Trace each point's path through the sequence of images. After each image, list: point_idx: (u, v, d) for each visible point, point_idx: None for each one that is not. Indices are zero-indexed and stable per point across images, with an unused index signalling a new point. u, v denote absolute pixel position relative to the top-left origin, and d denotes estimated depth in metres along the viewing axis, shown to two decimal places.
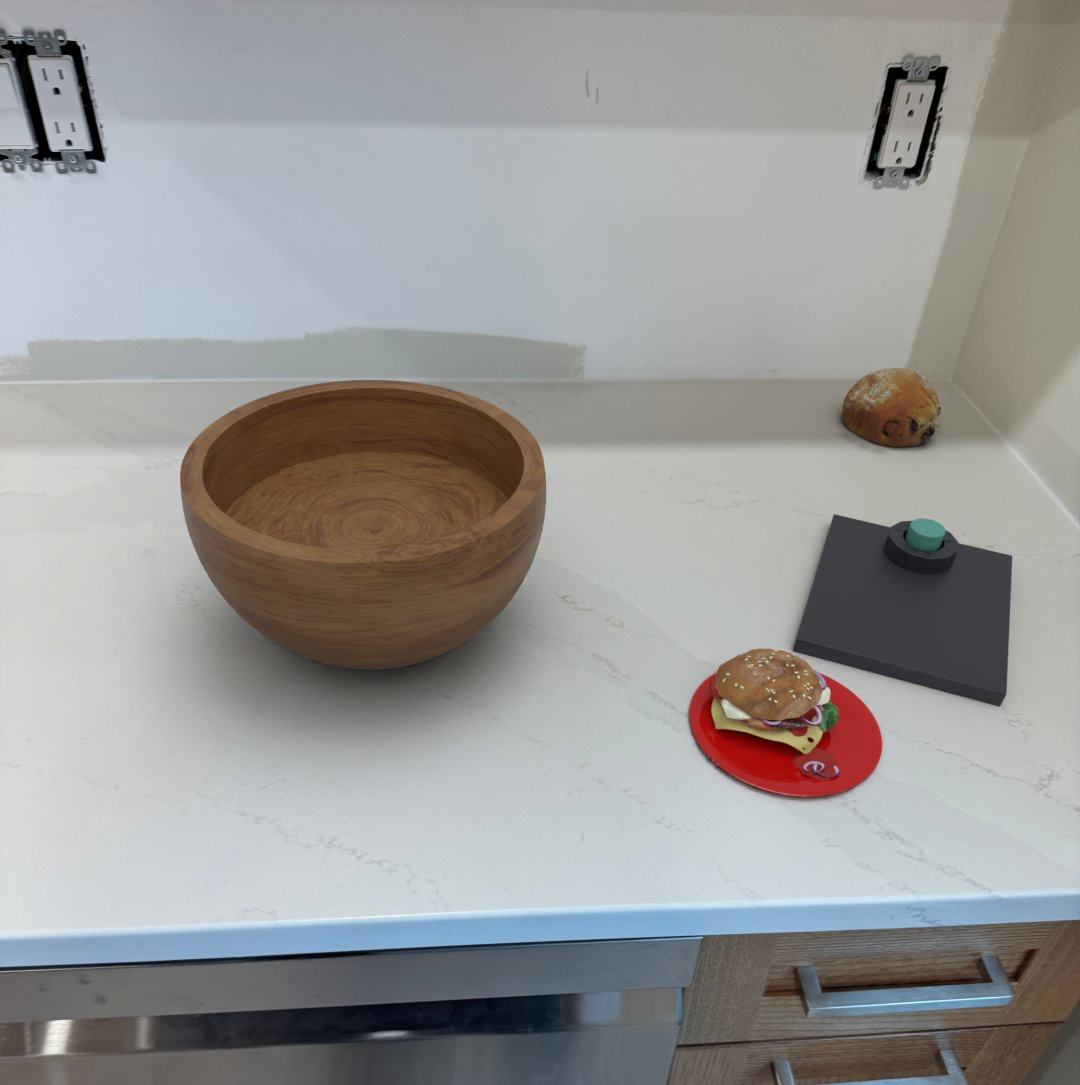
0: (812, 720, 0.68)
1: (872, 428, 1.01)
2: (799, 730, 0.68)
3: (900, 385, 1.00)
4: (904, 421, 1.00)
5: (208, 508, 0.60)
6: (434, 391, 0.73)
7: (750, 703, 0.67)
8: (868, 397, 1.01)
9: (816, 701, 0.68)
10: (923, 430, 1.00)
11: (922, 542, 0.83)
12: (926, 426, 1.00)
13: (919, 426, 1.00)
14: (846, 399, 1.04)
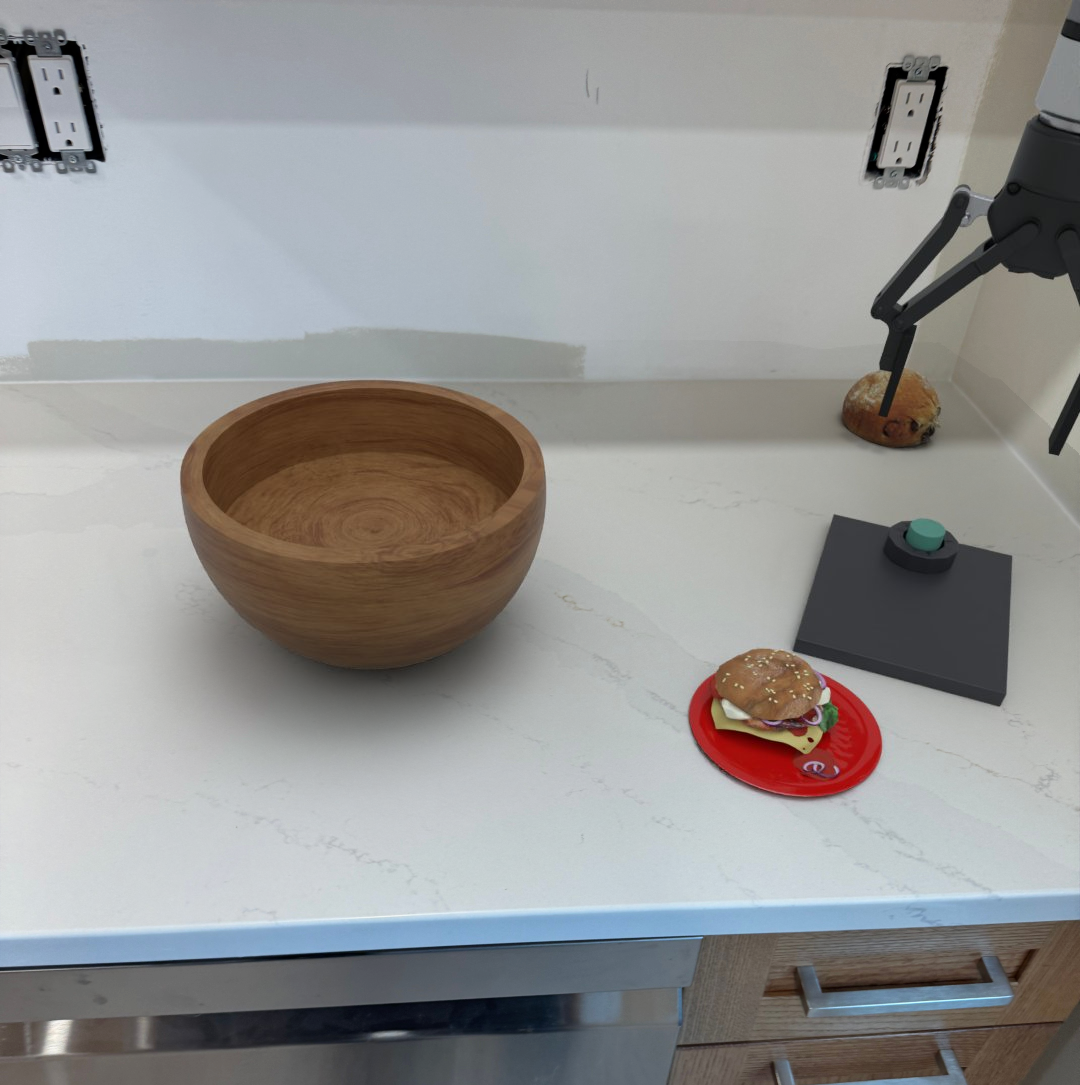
0: (812, 720, 0.68)
1: (872, 428, 1.01)
2: (799, 730, 0.68)
3: (900, 385, 1.00)
4: (904, 421, 1.00)
5: (208, 508, 0.60)
6: (434, 391, 0.73)
7: (750, 703, 0.67)
8: (868, 397, 1.01)
9: (816, 701, 0.68)
10: (923, 430, 1.00)
11: (922, 542, 0.83)
12: (926, 426, 1.00)
13: (919, 426, 1.00)
14: (846, 399, 1.04)
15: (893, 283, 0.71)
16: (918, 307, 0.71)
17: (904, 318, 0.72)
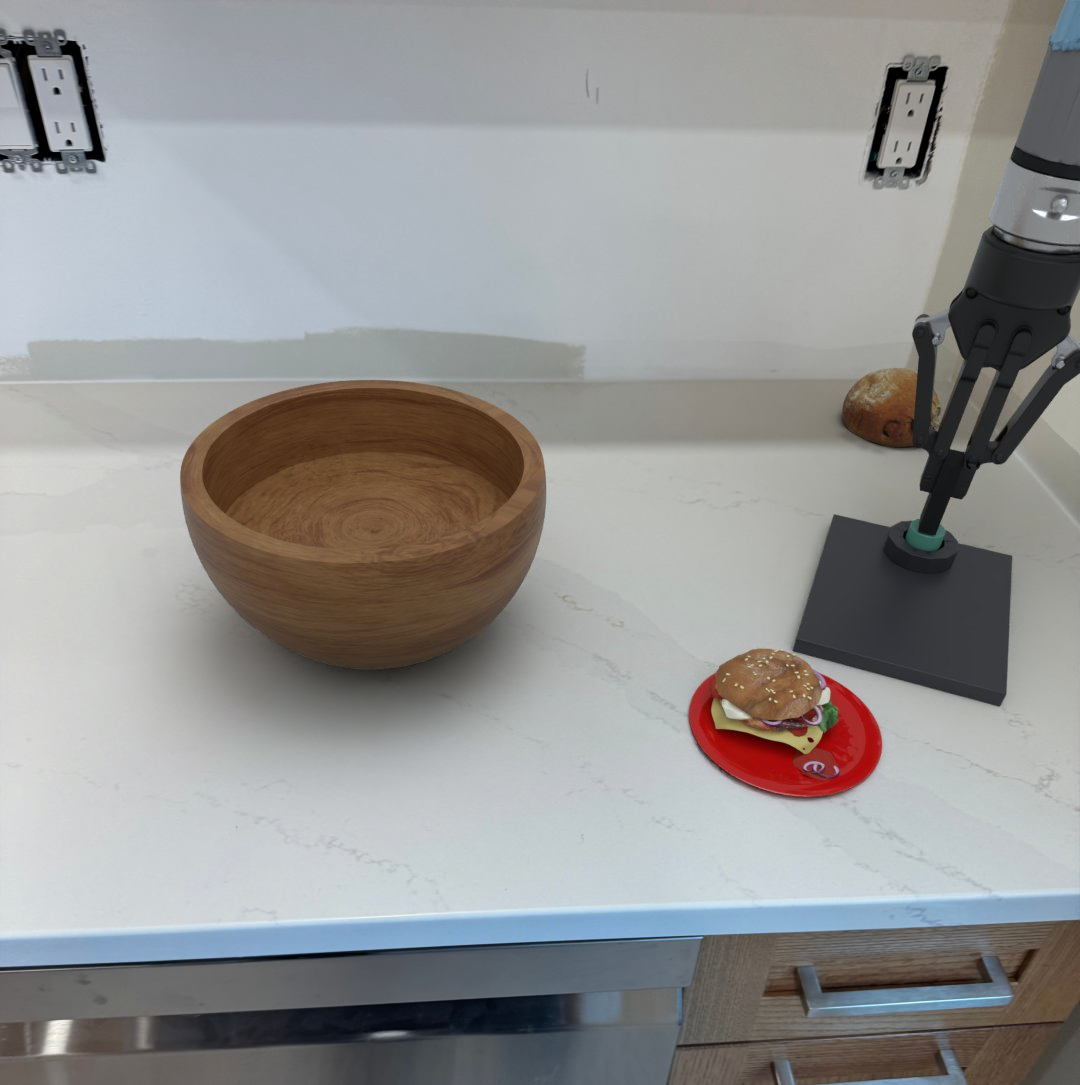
0: (812, 720, 0.68)
1: (872, 428, 1.01)
2: (799, 730, 0.68)
3: (900, 385, 1.00)
4: (904, 421, 1.00)
5: (208, 508, 0.60)
6: (434, 391, 0.73)
7: (750, 703, 0.67)
8: (868, 397, 1.01)
9: (816, 701, 0.68)
10: None
11: (922, 542, 0.83)
12: None
13: None
14: (846, 399, 1.04)
15: (915, 415, 0.76)
16: (944, 432, 0.76)
17: (939, 446, 0.77)
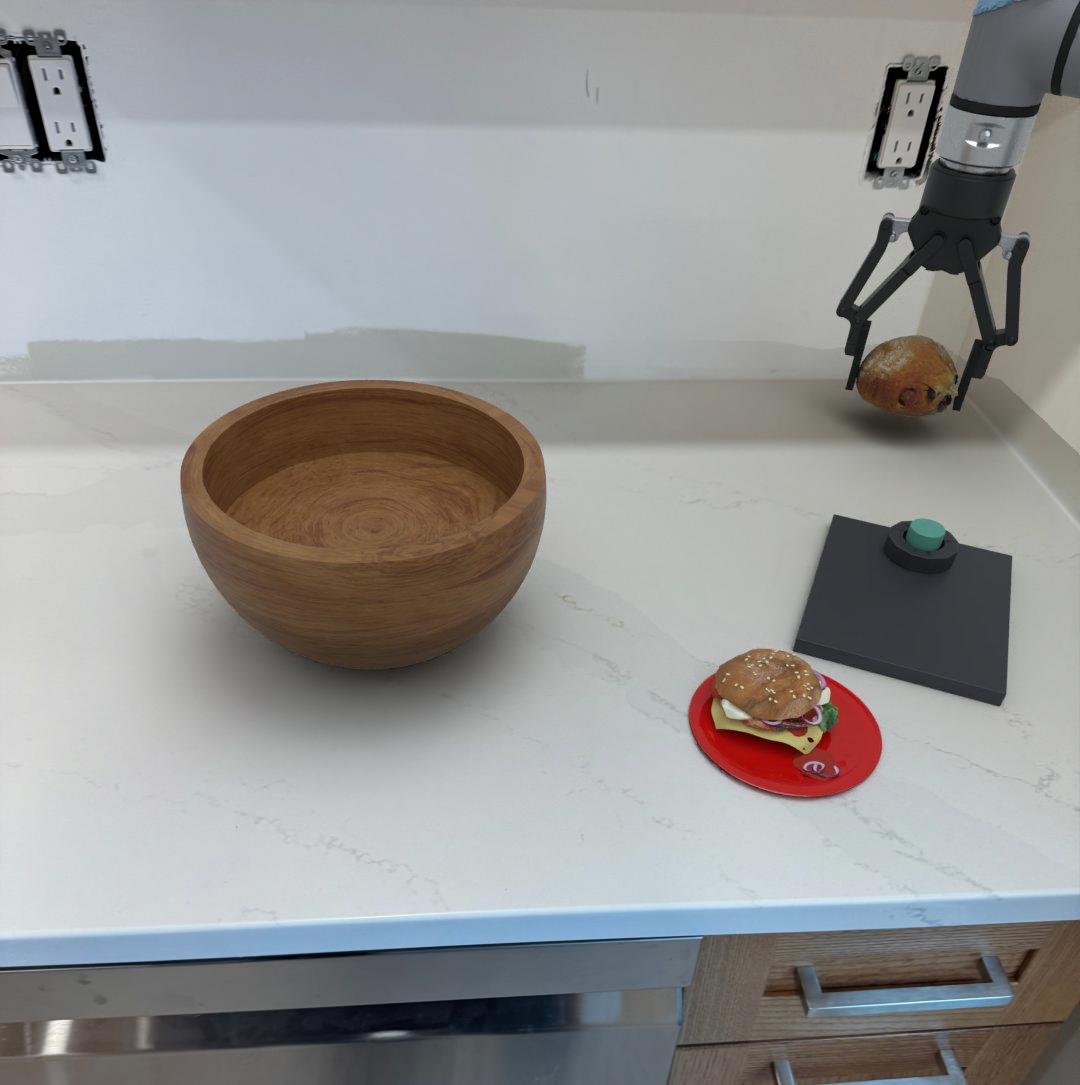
0: (812, 720, 0.68)
1: (887, 397, 0.99)
2: (799, 730, 0.68)
3: (916, 352, 0.97)
4: (920, 389, 0.97)
5: (208, 508, 0.60)
6: (434, 391, 0.73)
7: (750, 703, 0.67)
8: (883, 366, 0.98)
9: (816, 701, 0.68)
10: (940, 398, 0.98)
11: (922, 542, 0.83)
12: (943, 394, 0.97)
13: (936, 393, 0.97)
14: (860, 368, 1.01)
15: (849, 289, 0.96)
16: (869, 306, 0.97)
17: (860, 315, 0.98)
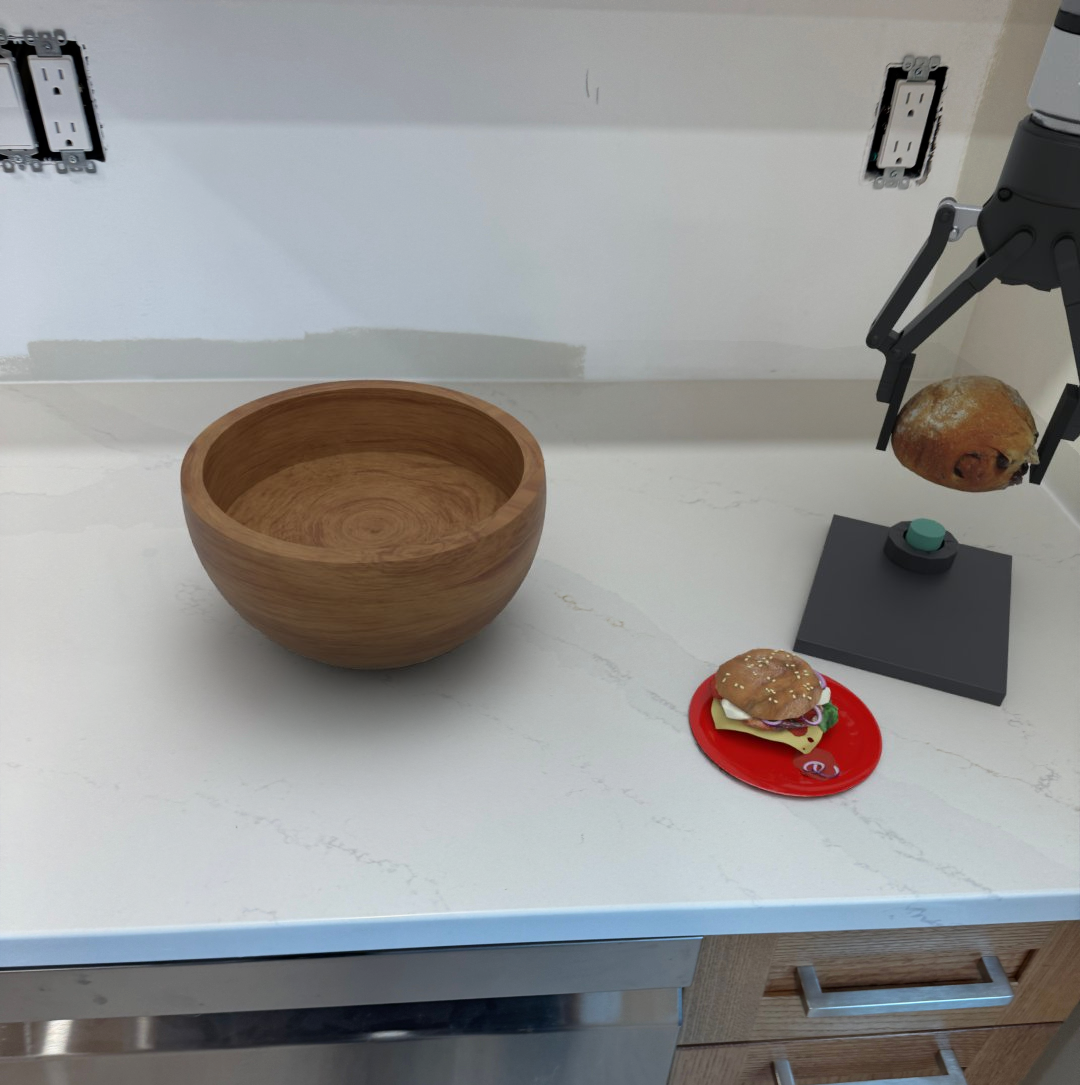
0: (812, 720, 0.68)
1: (937, 465, 0.68)
2: (799, 730, 0.68)
3: (981, 401, 0.67)
4: (987, 456, 0.67)
5: (208, 508, 0.60)
6: (434, 391, 0.73)
7: (750, 703, 0.67)
8: (932, 419, 0.68)
9: (816, 701, 0.68)
10: (1015, 468, 0.67)
11: (922, 542, 0.83)
12: (1020, 462, 0.67)
13: (1010, 462, 0.67)
14: (898, 421, 0.71)
15: (885, 309, 0.66)
16: (914, 334, 0.66)
17: (901, 347, 0.67)
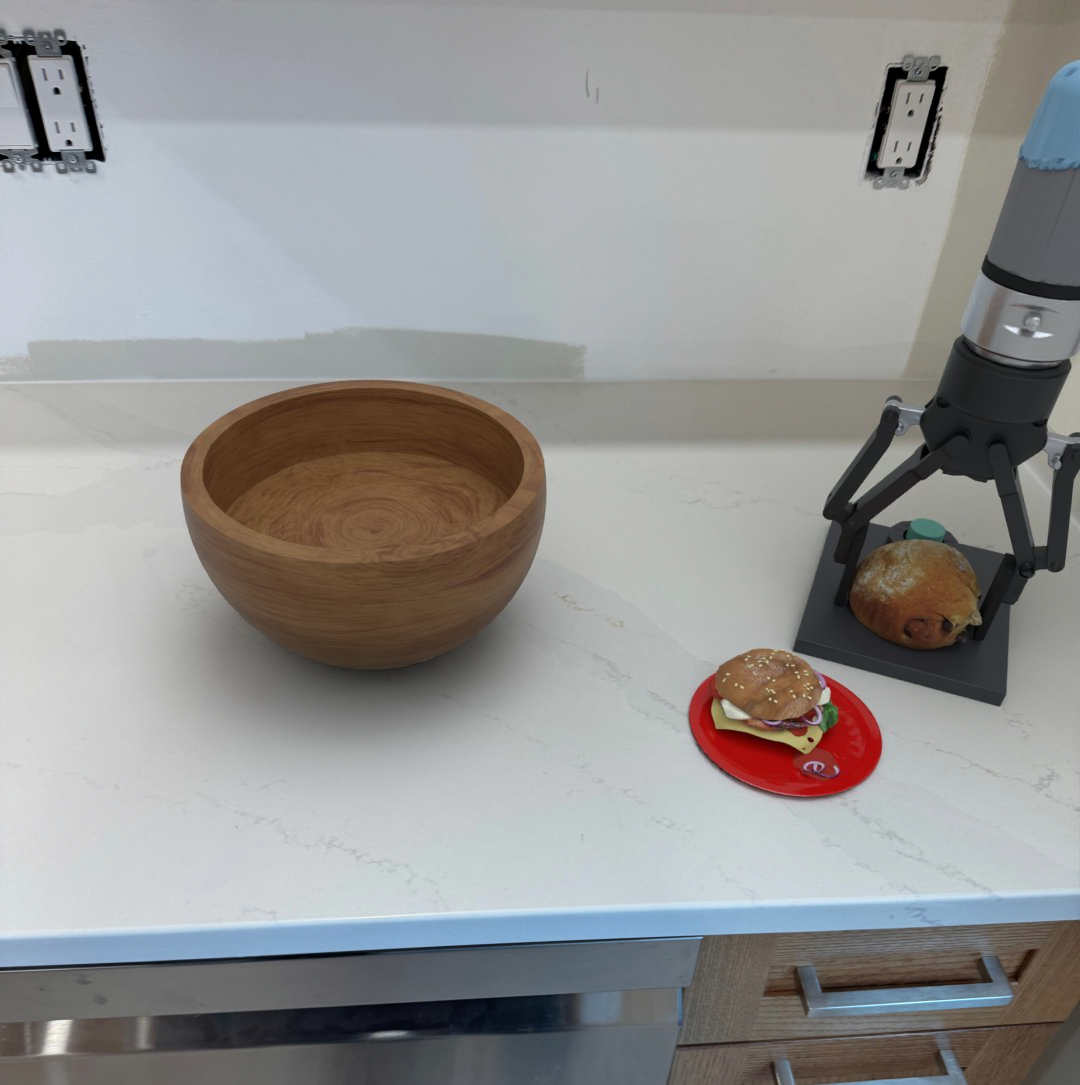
0: (812, 720, 0.68)
1: (889, 625, 0.75)
2: (799, 730, 0.68)
3: (927, 570, 0.73)
4: (933, 620, 0.73)
5: (208, 508, 0.60)
6: (434, 391, 0.73)
7: (750, 703, 0.67)
8: (884, 584, 0.74)
9: (816, 701, 0.68)
10: (959, 630, 0.74)
11: None
12: (963, 625, 0.73)
13: (954, 626, 0.73)
14: (854, 579, 0.77)
15: (840, 488, 0.72)
16: (866, 510, 0.73)
17: (854, 520, 0.74)
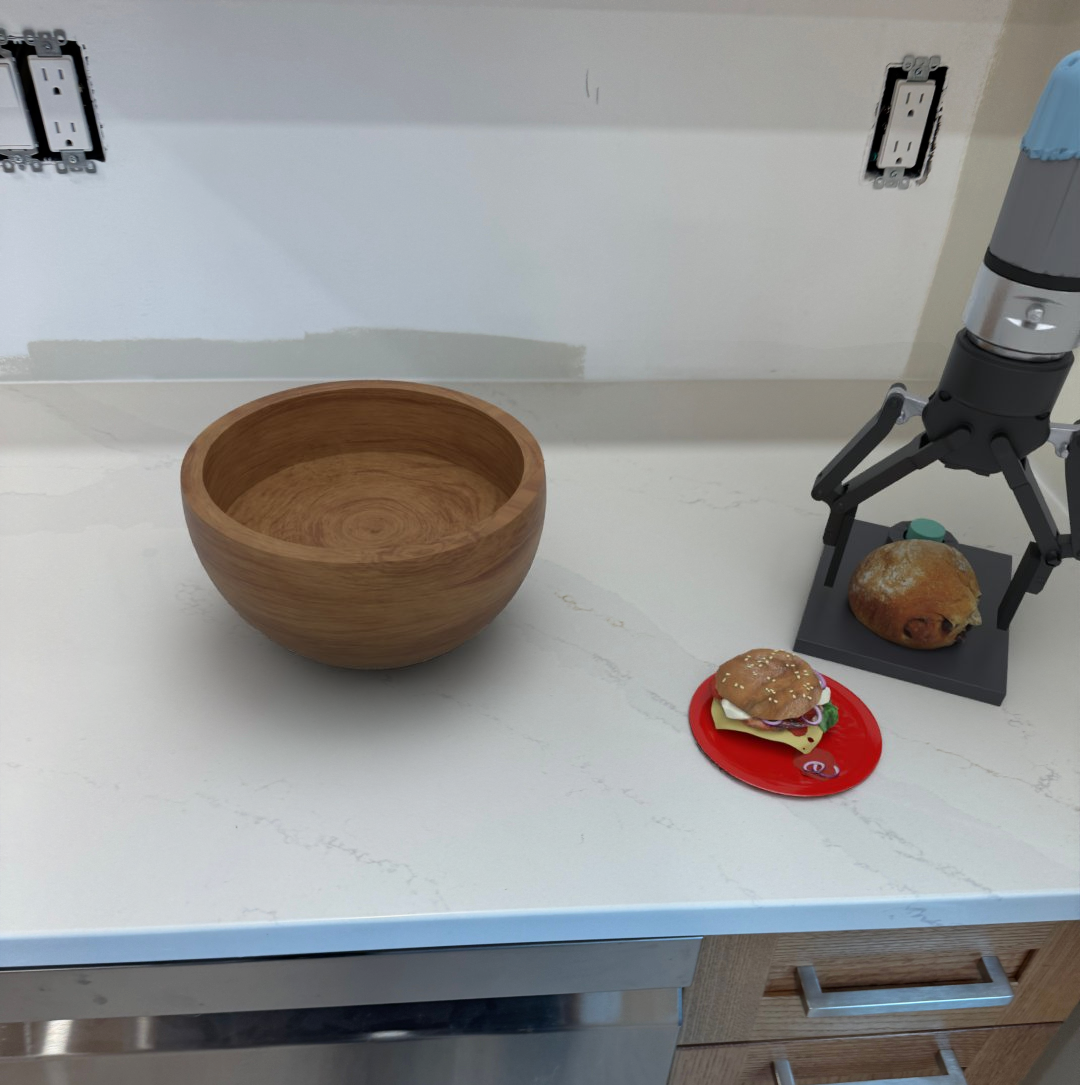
0: (812, 720, 0.68)
1: (889, 625, 0.75)
2: (799, 730, 0.68)
3: (927, 570, 0.73)
4: (933, 620, 0.73)
5: (208, 508, 0.60)
6: (434, 391, 0.73)
7: (750, 703, 0.67)
8: (884, 584, 0.74)
9: (816, 701, 0.68)
10: (959, 630, 0.74)
11: None
12: (963, 625, 0.73)
13: (954, 626, 0.73)
14: (853, 579, 0.77)
15: (832, 470, 0.72)
16: (857, 492, 0.72)
17: (844, 501, 0.73)
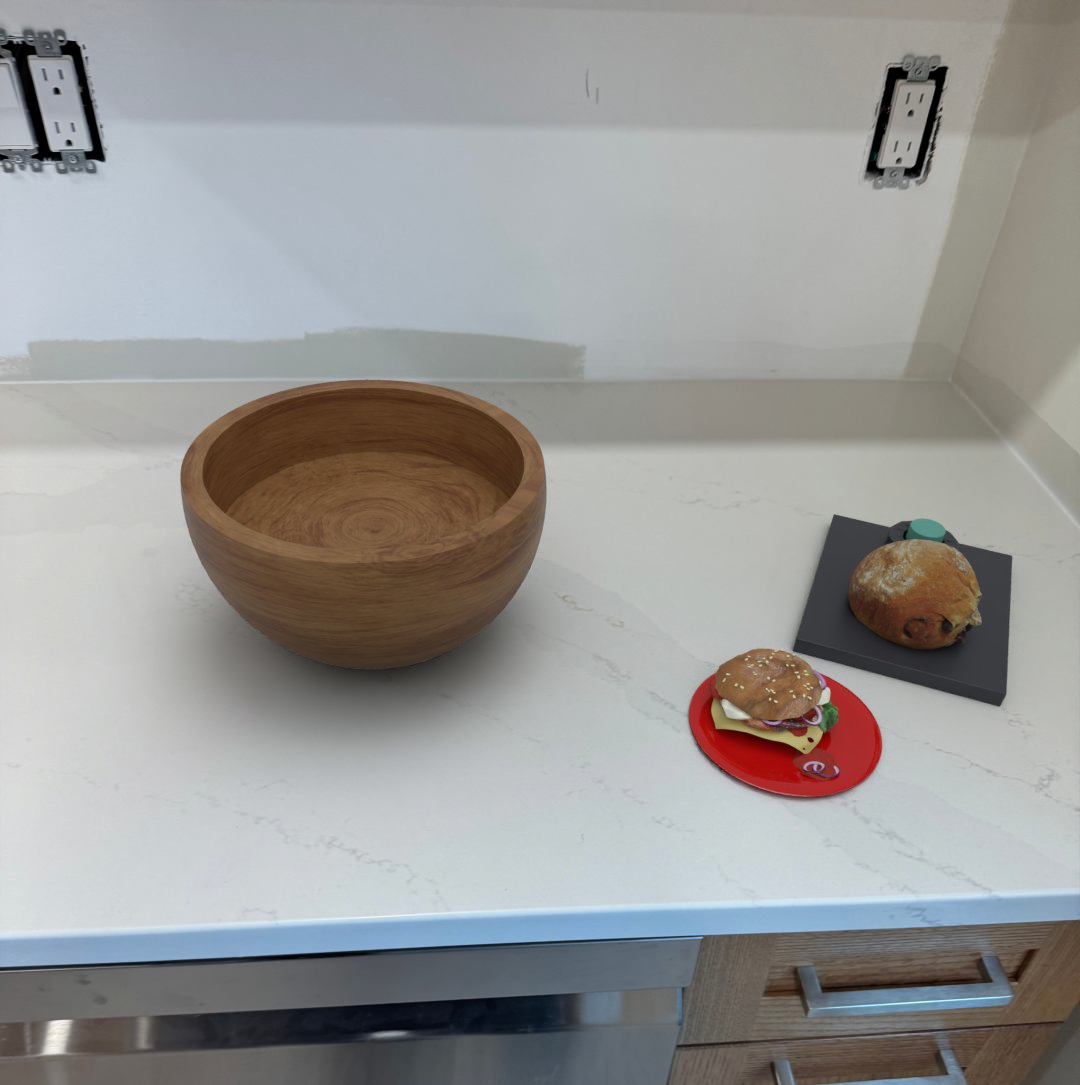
0: (812, 720, 0.68)
1: (889, 625, 0.75)
2: (799, 730, 0.68)
3: (927, 571, 0.73)
4: (933, 620, 0.73)
5: (208, 508, 0.60)
6: (434, 391, 0.73)
7: (750, 703, 0.67)
8: (884, 584, 0.74)
9: (816, 701, 0.68)
10: (959, 630, 0.74)
11: None
12: (963, 625, 0.73)
13: (954, 627, 0.73)
14: (853, 579, 0.77)
15: None
16: None
17: None
